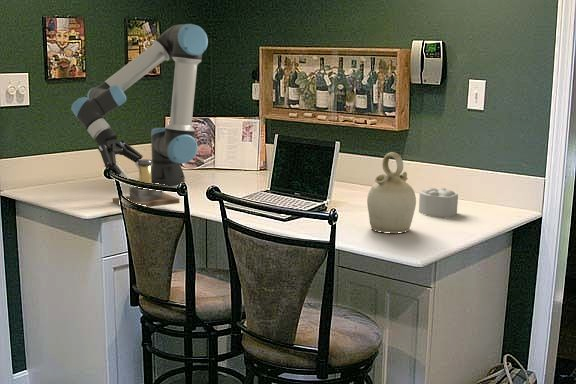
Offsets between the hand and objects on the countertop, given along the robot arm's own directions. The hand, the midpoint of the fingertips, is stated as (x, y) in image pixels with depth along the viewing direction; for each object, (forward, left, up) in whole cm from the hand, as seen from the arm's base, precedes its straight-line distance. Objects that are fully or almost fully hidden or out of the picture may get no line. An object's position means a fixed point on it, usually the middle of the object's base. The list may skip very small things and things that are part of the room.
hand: (137, 177), depth 270 cm
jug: (-50, +81, -9) cm, 95 cm away
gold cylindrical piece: (-2, +2, -7) cm, 8 cm away
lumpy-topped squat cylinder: (-80, +73, -9) cm, 108 cm away
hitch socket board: (-2, +3, -9) cm, 9 cm away
